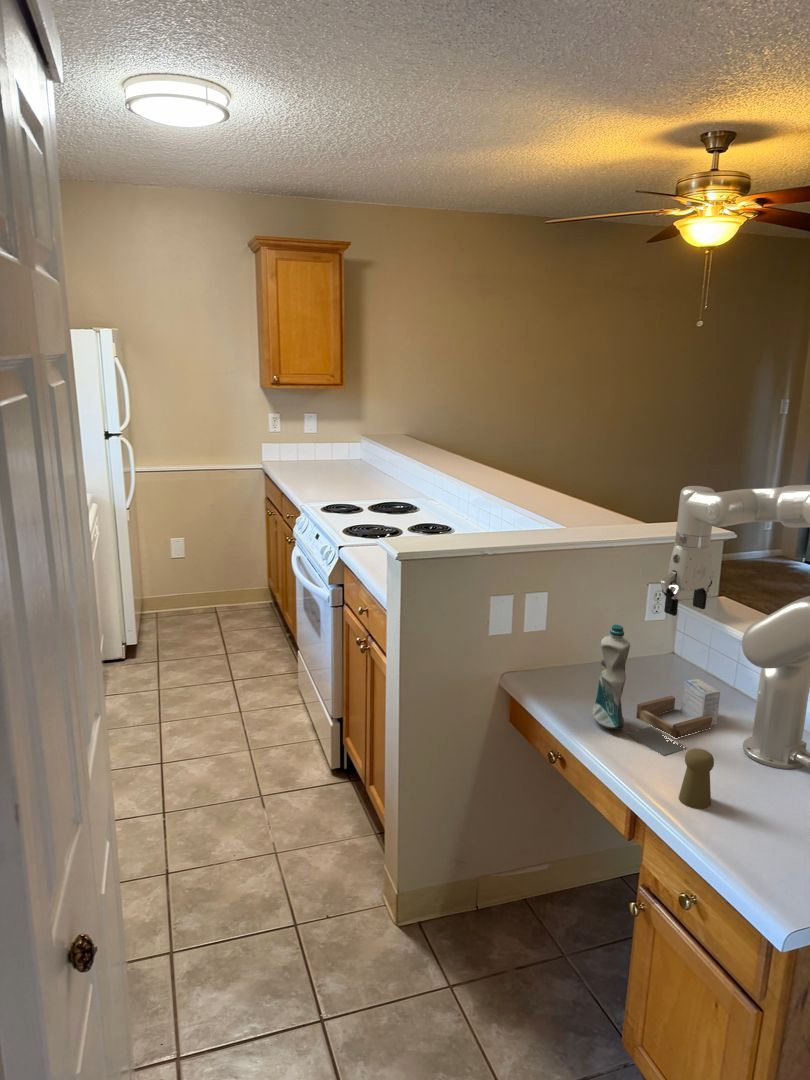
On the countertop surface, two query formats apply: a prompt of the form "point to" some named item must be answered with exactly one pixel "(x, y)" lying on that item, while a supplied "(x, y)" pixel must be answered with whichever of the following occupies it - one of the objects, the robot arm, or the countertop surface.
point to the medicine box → (700, 700)
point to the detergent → (611, 680)
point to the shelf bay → (661, 705)
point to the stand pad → (655, 741)
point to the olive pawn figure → (697, 779)
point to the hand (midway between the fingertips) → (684, 610)
